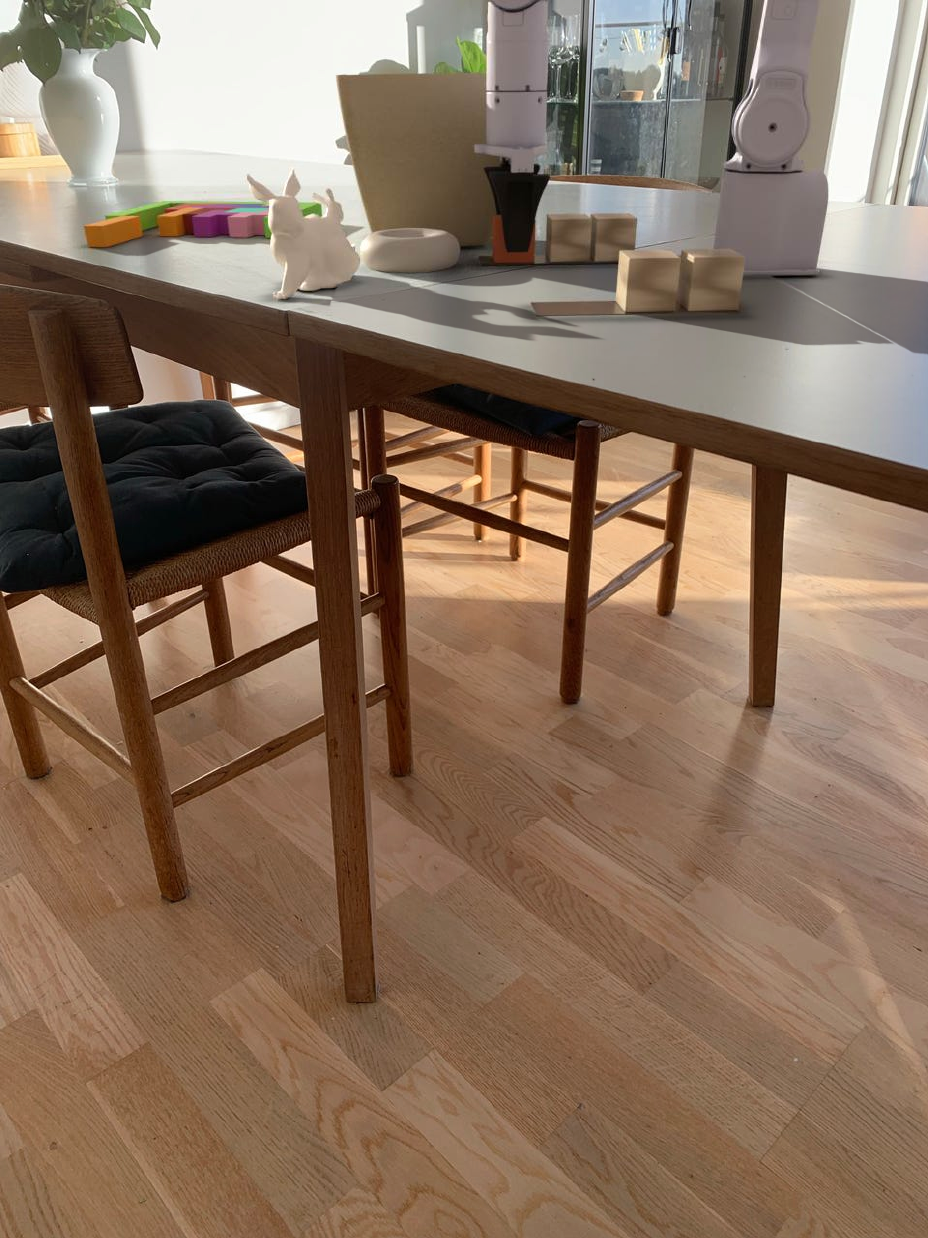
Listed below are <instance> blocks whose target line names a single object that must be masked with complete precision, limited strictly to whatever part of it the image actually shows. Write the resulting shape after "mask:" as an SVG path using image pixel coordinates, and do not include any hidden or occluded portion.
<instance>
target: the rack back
mask: <svg viewBox="0 0 928 1238" xmlns="http://www.w3.org/2000/svg"><path fill="white" fill-rule="evenodd" d="M637 227H638V218H637V217H636V216H634V215H633V214H632V213H630V212H623V213H622V212H621V213H619V212H618V213H615V212H613V213H611V212H610V213H590V216H588V214H586V213H552V214H551V213H550V214H549V213H548V214H546V228H545V229H546V233H545V254H535V258H534V263H495V262H494V260H493V257H492V255H478V256H477V261H478V263H479V264H478V265H479V267H483V268H484V267H485V268H486V267H487V268H488V267H540V266H541V267H542V266H543V267H545V266H548V267H549V266H605V265H606V266H608V265H609V266H610V265H611V266H613V265H614V266H615V265H617V266H618V264H619V251H620V250H636V242H637V241H636V240H637Z"/></svg>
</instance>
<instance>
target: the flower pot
mask: <svg viewBox="0 0 928 1238" xmlns="http://www.w3.org/2000/svg"><path fill="white" fill-rule="evenodd" d="M335 81H336V87H337V93H338V100H339V106H340V111H341V117H342V122H343V127H344V132H345V137H346V141H347V146H348V151H349V155H350V159H351V163H352V168H353V172H354V176H355V180H356V184H357V187H358V192H359V195H360V199H361V203H362V205H363V210H364V213H365V216H366V219H367V223H368V226H369V229H370V232H371V233H374V232H377V231H383V230H390V229H403V228H426V229H437V230H443V231H446V232H448V233H450V234H452V235H454V236H455V237H456V238H457V240H458V242H459V244H460V247H473V246H474V247H475V246H476V247H479V246H488V245H490V243H491V242H492V215H496V208H495V202H494V197H493V193H492V189H491V186H490V183H489V180H488V178H487V175H486V173H485V171H484V167H500V164H502V162H501V161H500V156H494V155H487V154H485V153H475V152H474V145H475V144H486V92H498V91H486V86H487V72H446V73H445V72H439V73H438V72H436V73H435V72H434V73H427V72H424V73H423V72H422V73H373V74H372V73H369V74H368V73H367V74H365V73H364V74H336V75H335ZM371 233H370V234H371Z"/></svg>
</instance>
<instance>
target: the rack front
mask: <svg viewBox="0 0 928 1238" xmlns="http://www.w3.org/2000/svg"><path fill="white" fill-rule="evenodd" d="M745 258H746V257H745V256H743V255H741V254H739V253H737V252H735V251H734V250H732V249H714V248H686V249H685V248H684V249H681V251H680V256H679V255H677V254H676V253H674V252H673V251H671V250H670V249H635V250H620V251H619V264H618V265H617V267H618V268H617V278H616V280H617V281H616V290H615V291H616V293H615V295H616V296H615V300H591V301H590V300H587V301H586V300H585V301H584V300H583V301H582V300H581V301H580V300H579V301H530V302H529V303H530V306H531V307H532V310H533V312H534V313H535V316H536V317H566V316H567V317H570V316H571V317H573V316H621V315H622V316H625V315H627V316H629V315H633V316H634V315H681V314H683V315H685V314H687V315H688V314H692V315H693V314H740V313H741V312H740V311H739V307H740V302H741V301H740V299H741V293H742V284H743V278H744V275H743V272H744V265H745Z"/></svg>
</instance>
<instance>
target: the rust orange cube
mask: <svg viewBox="0 0 928 1238" xmlns="http://www.w3.org/2000/svg"><path fill="white" fill-rule="evenodd" d="M535 251H536V219H535V222H534V227H533V233H532V238H531V242H530V246H529V249H528V252H507V250H506V247H505V242H504V236H503V228H502V219H501V215H492V238H491V256H492V257H493V260H494V262H495V263H534V258H535V255H536V252H535Z"/></svg>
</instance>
